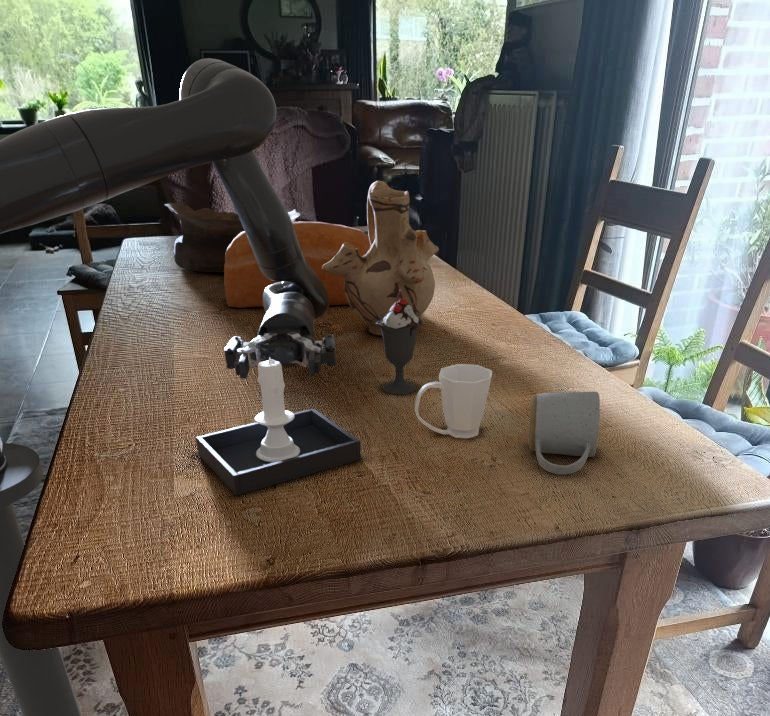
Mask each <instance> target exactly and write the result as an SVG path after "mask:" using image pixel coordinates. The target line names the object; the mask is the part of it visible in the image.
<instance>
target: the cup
mask: <svg viewBox="0 0 770 716" xmlns="http://www.w3.org/2000/svg"><path fill="white" fill-rule="evenodd" d="M492 376H493V370H492V369H489V368H487V367H484V366H482V365H479V364H467V363H456V364H452V365H448V366H445V367H441V368H440V371H439V373H438V381H431V382H426V383H425V384H423V385H422V387H421V388H420V389H419V390H418V391H417V394H416V397H415V401H414V413H415V415H416V419H418V420H419V422H421V423H422V424H423V426H425V427H427V428H429V429H430V430H432V431H433V432H435V433H438V434H441V435H449V436H451V437H453V438H455V439H456V438H457V439H470V438H471V439H472V438H474V437H477V436H479V431H480V426H481V423H482V421H483V416H484V414H485V411H486V410H485V409H486V405H487V399H488V395H489V390H490V386H491V382H492ZM430 388H432V389H433V388H435V389H440V397H441V406H442V412H443V416H444V420H445V425H446V426H447V427H446V428H447V429H441V428H438V427H435V426H433V425H432V424H431V423H429V422H427V421H426V420H424V419H423V418H422V417H421V416H420V413H419V408H420V407H419V406H420V402H421V399H422V398H421V397H422V396H423V395H424V393H425V392H426V391H427V390H428V389H430Z"/></svg>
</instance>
